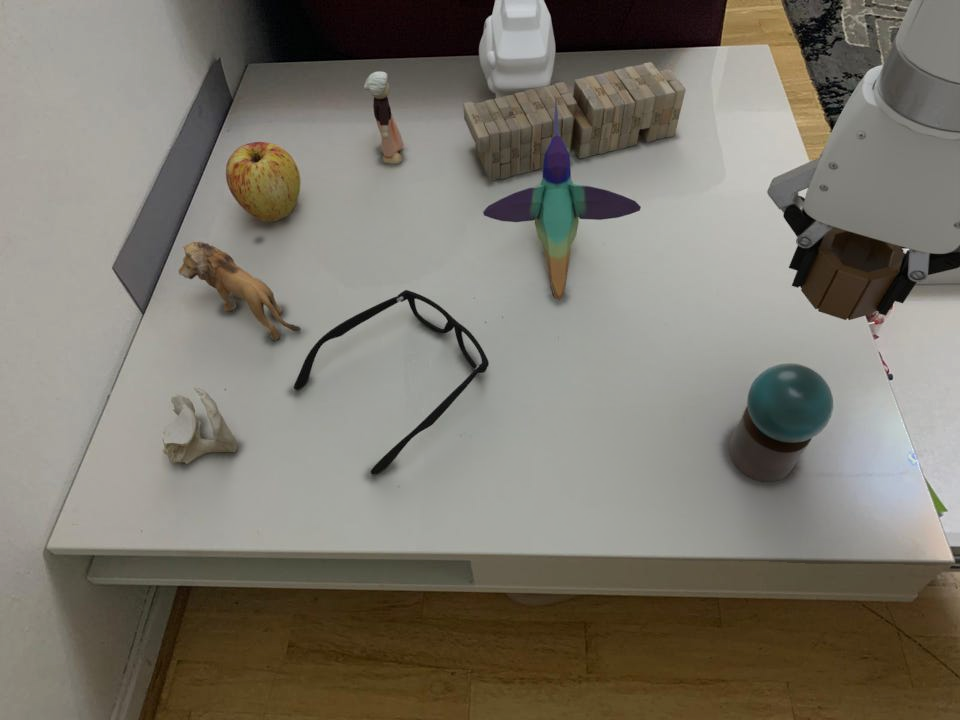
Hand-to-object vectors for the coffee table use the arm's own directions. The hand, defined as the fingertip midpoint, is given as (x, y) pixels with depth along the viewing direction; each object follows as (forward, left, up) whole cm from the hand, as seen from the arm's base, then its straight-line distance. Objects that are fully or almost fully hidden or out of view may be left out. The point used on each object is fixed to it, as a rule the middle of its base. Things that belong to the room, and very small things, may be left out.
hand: (842, 286), depth 56 cm
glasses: (+38, +11, -23) cm, 46 cm away
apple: (+68, -6, -23) cm, 72 cm away
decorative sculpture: (+31, -16, -23) cm, 42 cm away
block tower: (+37, -35, -23) cm, 56 cm away
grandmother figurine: (+60, -23, -23) cm, 68 cm away
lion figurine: (+60, +10, -23) cm, 65 cm away
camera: (+49, -42, -23) cm, 68 cm away
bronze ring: (0, 0, -1) cm, 1 cm away
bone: (+53, +27, -23) cm, 64 cm away
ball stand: (0, +2, -23) cm, 23 cm away
